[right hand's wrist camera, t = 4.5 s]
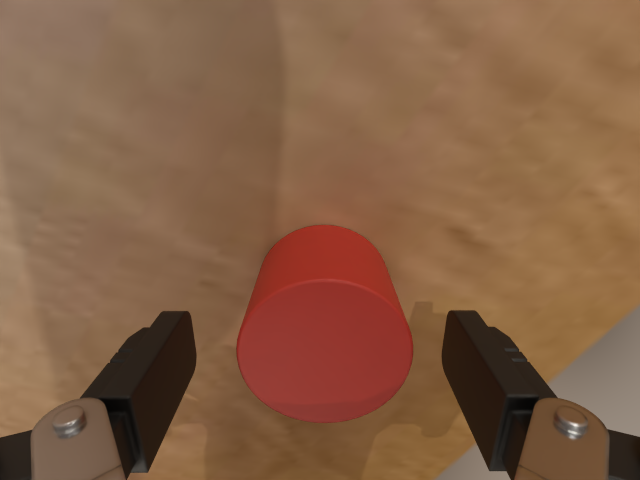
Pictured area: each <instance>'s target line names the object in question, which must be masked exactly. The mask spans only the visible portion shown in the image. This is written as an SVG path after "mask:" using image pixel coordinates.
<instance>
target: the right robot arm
mask: <svg viewBox="0 0 640 480" xmlns="http://www.w3.org/2000/svg"><path fill="white" fill-rule="evenodd" d="M442 365H443V369H444V372H445V375H446V377H447V379H448V381H449V384H450V386H451V388H452V390H453V392H454V395H455V397H456V399H457V401H458V403H459V405H460V408H461V410H462V412H463V414H464V416H465V419H466V421H467V423H468V425H469V427H470V430H471V432H472V434H473V436H474V438H475V441H476V443H477V445H478V447H479V449H480V452H481V454H482V456H483V458H484V460H485V462H486V465H487V467H488V469H489V471H507V473H508V475H509V477H510V479H511V480H640V437H637V436H633V435H629V434H625V433H621V432H617V431H612V430H608V429H607V428H606V427H605V425H604V424H603V423H602V421H601V420H600V419H599V418H598V417H597V416H595V415H594V414H593V413H591V412H590V411H589V410H587V409H586V408H584V407H582V406H580V405H578V404H576V403H574V402H571V401H568V400H564V399H560V398H557V396H556V395H555V394H554V393H553V391H552V390H551V389H550V388H549V386H548V385H547V384H546V383H545V381H544V380H543V379H542V378H541V376H540V375H539V374H538V372H537V371H536V370H535V369H534V367H533V366H532V365H531V364H530V362H527V359H526V357H525V356H524V355H523V354H522V352H519V349H518V347H517V346H516V345H515V344H514V342H513V341H512V340H511V339H510V337H508V336H507V335H505V334H504V333H503V332H501V331H500V330H498V329H497V328H495V327H488V326H487V325H486V323H485V322H484V321H483V319H482V318H481V317H480V315H479V314H478V313H477V312H476V311H474V310H451V311H449V312H448V315H447V320H446V327H445V334H444V341H443V348H442ZM195 366H196V347H195V340H194V334H193V327H192V320H191V315H190V313H189V312H188V311H163V312H161V313H160V314H159V316H158V317H157V318H156V320H155V321H154V323H153V324H152V325H151V327H150V328H142V329H141V330H139V331H138V332H136V333H135V334H133V335H132V336H130V337H129V338H128V339H127V340H126V341H125V343H124V344H123V345H122V346H121V348H120V349H119V351H118V353H116V354H115V355H114V356H113V358H112V359H111V360H110V363H108V364H107V365H106V366H105V368H104V369H103V370H102V371H101V373H100V374H99V375H98V376H97V377H96V379H95V380H94V381H93V382H92V384H91V385H90V386H89V387H88V389H87V390H86V391H85V392H84V394H83V395H82V396H81V397H80V399H76V400H72V401H69V402H66V403H64V404H62V405H60V406H58V407H56V408H54V409H53V410H51V411H50V412H48V413H47V414H46V415H45V416H43V417H42V418H41V419H40V420H39V421H38V423H37V424H36V425H35V427H34V428H33V430H30V431H26V432H22V433H18V434H14V435H9V436H5V437H1V438H0V480H127V478H128V476H129V474H130V473H148V471H149V469H150V467H151V465H152V462H153V460H154V458H155V456H156V454H157V452H158V449H159V447H160V445H161V443H162V441H163V439H164V436H165V434H166V432H167V430H168V428H169V426H170V423H171V421H172V419H173V417H174V415H175V413H176V410H177V408H178V406H179V404H180V402H181V400H182V397H183V395H184V393H185V391H186V389H187V387H188V384H189V382H190V380H191V378H192V376H193V373H194V370H195Z"/></svg>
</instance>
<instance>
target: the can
mask: <svg viewBox="0 0 640 480" xmlns="http://www.w3.org/2000/svg"><path fill="white" fill-rule="evenodd" d="M236 349H237V360H238V365H239V369H240V371H241V374H242V377H243V379H244V380H245V382H246V384H247V386H248V387H249V388H250V390H251V391H252V392H253V393H254V394H255V395H256V396H257V397H258V398H259V399H260V400H261V401H262V402H263V403H265V404H266V405H267V406H269V407H270V408H272V409H274V410H275V411H277V412H279V413H281V414H283V415H286V416H288V417H291V418H294V419H298V420H302V421H307V422H315V423H333V422H341V421H347V420H351V419H355V418H358V417H361V416H363V415H366V414H368V413H370V412H372V411H374V410H376V409H377V408H379V407H380V406H382V405H383V404H385V403H386V402H387V401H388V400H390V399H391V398H392V397H393V396H394V395H395V394H396V392H397V391H398V390H399V389H400V387H401V386H402V385H403V383H404V381H405V379H406V377H407V375H408V373H409V370H410V367H411V364H412V358H413V341H412V335H411V332H410V329H409V326H408V324H407V321H406V318H405V316H404V313H403V310H402V308H401V305H400V302H399V300H398V297H397V294H396V292H395V289H394V287H393V284H392V281H391V279H390V276H389V273H388V271H387V268H386V265H385V263H384V261H383V259H382V257H381V255H380V253H379V252H378V251H377V249H376V248H375V247H374V246H373V245H372V244H371V243H370V242H369V241H368V240H367V239H365V238H364V237H362V236H361V235H359V234H358V233H356V232H353V231H351V230H349V229H346V228H342V227H338V226H332V225H317V226H310V227H305V228H302V229H299V230H296V231H294V232H292V233H290V234H288V235H287V236H285V237H284V238H282V239H281V240H280V241H279V242H277V243H276V244H275V245H274V246H273V248H272V249H271V250H270V251H269V253H268V254H267V256H266V257H265V259H264V262H263V264H262V267H261V269H260V272H259V275H258V278H257V281H256V284H255V287H254V290H253V293H252V296H251V299H250V302H249V305H248V308H247V311H246V314H245V317H244V319H243V322H242V325H241V328H240V332H239V335H238V339H237V348H236Z"/></svg>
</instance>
